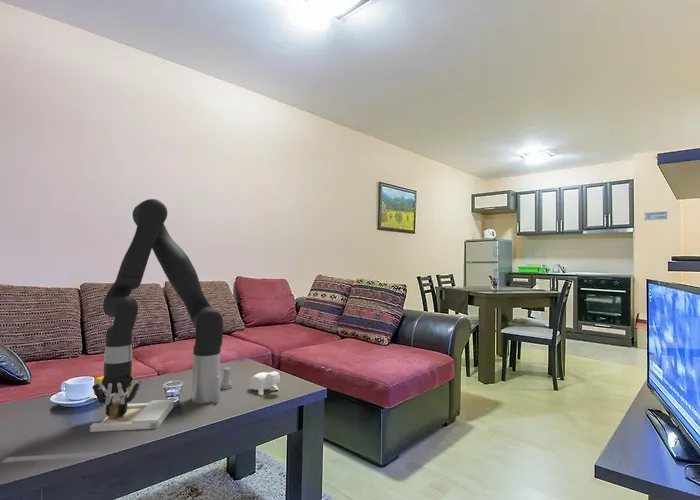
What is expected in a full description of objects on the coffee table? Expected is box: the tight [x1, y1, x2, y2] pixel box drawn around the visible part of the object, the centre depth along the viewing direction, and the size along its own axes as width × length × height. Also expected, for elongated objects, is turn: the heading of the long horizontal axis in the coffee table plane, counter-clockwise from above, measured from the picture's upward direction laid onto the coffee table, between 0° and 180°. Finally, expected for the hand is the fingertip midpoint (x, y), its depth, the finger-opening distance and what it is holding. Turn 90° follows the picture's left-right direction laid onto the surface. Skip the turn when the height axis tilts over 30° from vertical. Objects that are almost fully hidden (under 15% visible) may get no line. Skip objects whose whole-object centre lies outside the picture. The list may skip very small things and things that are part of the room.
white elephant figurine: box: [248, 371, 281, 396], centre depth 148 cm, size 9×8×15 cm
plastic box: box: [89, 399, 175, 433], centre depth 119 cm, size 18×17×3 cm
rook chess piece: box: [220, 366, 233, 390], centre depth 153 cm, size 4×4×8 cm
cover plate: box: [103, 400, 144, 423], centre depth 119 cm, size 14×12×5 cm
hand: (116, 415), depth 118 cm, fingers open, 3 cm apart
